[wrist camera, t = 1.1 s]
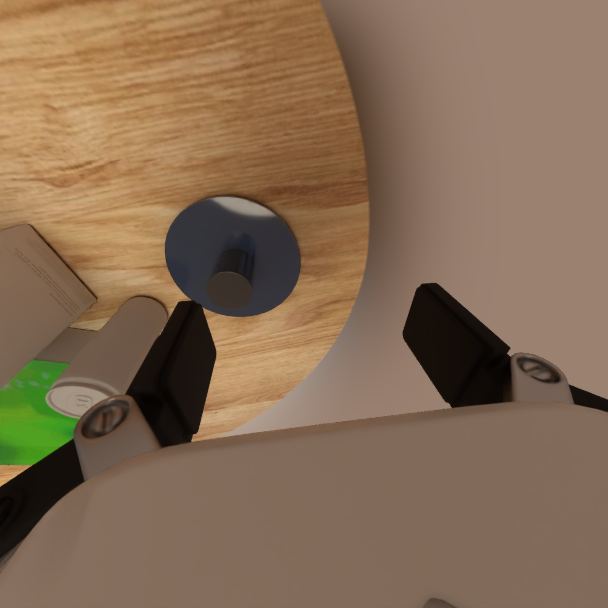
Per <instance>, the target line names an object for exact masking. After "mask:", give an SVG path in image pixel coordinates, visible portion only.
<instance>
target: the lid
mask: <svg viewBox="0 0 608 608" xmlns="http://www.w3.org/2000/svg"><path fill="white" fill-rule="evenodd" d="M165 258H166V263H167V267H168V269H169V272H170V274H171V276H172V278H173V280H174V282H175V283H176V284H177V286H178V287H179V288H180V290H181V291H182V292H183V293H184V294H185V295H186V296H187V297H188V298H190V299H191V300H194V301H196V303H197V304H198V303H200V304H201V305H202V307H203V308H205V309H207V310H210V311H212V312H215V313H218V314H221V315H226V316H234V317H246V316H254V315H258V314H262V313H265V312H267V311H269V310H272V309H273V308H275V307H277V306H278V305H279V304H281V303H282V302H283V301H284V300H285V299H286V298H287V297H288V296H289V295H290V293H291V292H292V291H293V289H294V287H295V285H296V283H297V281H298V277H299V273H300V266H301V263H300V253H299V248H298V245H297V242H296V240H295V237H294V235H293V233H292V232H291V230H290V229H289V227H288V226H287V224H286V223H285V222H284V221H283V220H282V219H281V218H280V217H279V216H278V215H277V214H276V213H275V212H273V211H272V210H270V209H269V208H267V207H266V206H264V205H262V204H260V203H258V202H256V201H253V200H250V199H247V198H243V197H239V196H229V195H224V196H214V197H209V198H205V199H202V200H199V201H197V202H195V203H193V204H192V205H190V206H188V207H187V208H186V209H185V210H183V211H182V212H181V213H180V214H179V215H178V216H177V217H176V219H175V220H174V222H173V223H172V225H171V226H170V229H169V231H168V233H167V237H166V242H165Z"/></svg>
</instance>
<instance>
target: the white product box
mask: <svg viewBox="0 0 608 608" xmlns="http://www.w3.org/2000/svg"><path fill="white" fill-rule="evenodd" d="M96 300H97V299H96V298H95V297H94V296H93V295H92V294H91V293H90V292H89V290H88V289H87V288H86V287H85V286H84V285H83V284H82V283H81V282H80V281H79V279H78V278H77V277H76V276H75V275H74V274H73V273H72V272H71V271H70V269H69V268H68V267H67V266H66V265H65V264H64V263H63V262H62V261H61V259H60V258H59V257H58V256H57V255H56V254H55V253H54V252H53V251H52V250H51V249H50V247H49V246H48V245H47V244H46V243H45V242H44V241H43V240H42V239H41V237H40V236H39V235H38V234H37V233H36V232H35V231H34V230H33V228H32V227H31V226H30V225H28V224H24V225H20V226H15V227H11V228H7V229H3V230H0V389H1V388H2V387H3V386H4V385H6V384H7V383H8V382H9V381H10V380H11V379H12V378H13V377H14V376H15V375H16V374H17V373H19V372H20V371H21V370H22V369H23V368H24V367H25V366H26V365H27V364H28V363H29V362H31V361H32V360H33V359H34V358H35V357H36V356H37V355H38V354H39V353H40V352H41V351H42V350H44V349H45V348H46V347H47V346H48V345H49V344H50V343H51V342H52V341H53V340H54V339H55V338H56V337H58V336H59V335H60V334H61V333H62V332H63V331H64V330H65V329H66V328H67V327H68V326H69V325H71V324H72V323H73V322H74V321H75V320H76V319H77V318H78V317H79V316H80V315H81V314H82V313H83V312H85V311H86V310H87V309H88V308H89V307H90V306H91V305H92V304H93V303H94V302H95V301H96Z"/></svg>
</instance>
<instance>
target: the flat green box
mask: <svg viewBox="0 0 608 608" xmlns="http://www.w3.org/2000/svg"><path fill="white" fill-rule="evenodd" d="M97 333H98V332H95V331H88V330H81V329H74V328H66V329H65V330H64V331H63V332H62V333H61V334H60V335H59V336H58V337H56V338H55V339H54V340H53V341H52V342H51V343H50V344H49V345H48V346H47V347H46V348H45V349H44V350H42V351H41V352H40V353H39V354H38V355H37V356H36V357H35V358H34V359H33V360H32V361H31V362H29V363H28V364H27V365H26V366H25V367H24V368H23V369H22V370H21V371H20V372H19V373H17V374H16V375H15V376H14V377H13V378H12V379H11V380H10V381H9V382H8V383H7V384H6V385H4V386H3V387H2V388H1V389H0V465H34V464H35V463H37V462H38V461H40V460H41V459H43V458H44V457H46V456H47V455H49V454H50V453H52V452H53V451H55V450H56V449H58V448H59V447H61V446H62V445H64V444H65V443H67V442H68V441H70V440H71V439H73V434H74V428H75V426H76V424H77V422H78V421H79V419H78V418H73V417H69V416H66V415H63V414H61V413H59V412H57V411H55V410H54V409H52V408H51V407H50V406H49V405H48V404H47V402H46V399H45V398H46V394H47V393H48V392H49V391H50V389H51V386H52V384H53V383H54V382H55V380H56V379H57V378H58V377H59V376H60V375H61V374H62V372H63V371H64V370H65V369H66V368H67V367H68V366H69V364H70V363H71V362H72V361H73V360H74V359H75V358H76V356H77V355H78V354H79V353H80V352H81V351H82V350H83V348H84V347H85V346H86V345H87V344H88V343H89V342H90V341H91V339H92V338H93V337H94V336H95V335H96V334H97Z"/></svg>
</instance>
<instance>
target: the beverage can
mask: <svg viewBox="0 0 608 608" xmlns="http://www.w3.org/2000/svg"><path fill="white" fill-rule="evenodd" d="M166 322H167V314H166V311H165V309H164V307H163V306H162V305H161V304H160V303H158V302H157V301H155V300H153V299H151V298H146V297H135V298H131V299H129V300H127V301H126V302H125V303H124V304H123V305H122V306H121V307H120V308H119V309H118V311H117V312H116V313H115V314H114V315H113V316H112V317H111V318H110V320H109V321H108V322H107V323H106V324H105V325H104V326H103V327H102V328H101V329H100V331H99V332H98V333H97V334H96V335H95V336H94V337H93V338H92V339H91V341H90V342H89V343H88V344H87V345H86V346H85V347H84V348H83V350H82V351H81V352H80V353H79V354H78V355H77V356H76V358H75V359H74V360H73V361H72V362H71V363H70V364H69V366H68V367H67V368H66V369H65V370H64V371H63V372H62V374H61V375H60V376H59V377H58V378H57V379H56V380H55V382H54V383H53V384H52V386H51V389H50V391H49V392H48V393H47V394H46V398H45V399H46V402H47V404H48V405H49V406H50V407H51V408H52V409H54V410H55V411H57V412H59V413H61V414H63V415H66V416H69V417H73V418H78V419H80V418H81V417H82V415H83V414H84V413H85V412H86V411H87V410H89V409H90V408H91V407H92V406H94V405H95V404H97V403H98V402H100V401H102V400H104V399H106V398H108V397H111V396H115V395H125V393H126V391H127V390H128V388H129V386H130V384H131V382H132V381H133V379H134V377H135V375H136V373H137V372H138V370H139V368H140V366H141V365H142V363H143V361H144V359H145V357H146V356H147V354H148V352H149V350H150V348H151V347H152V345H153V343H154V341H155V340H156V338H157V337H158V336H159V335H160V333H161V331H162V329H163V328H164V326H165V324H166Z"/></svg>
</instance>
